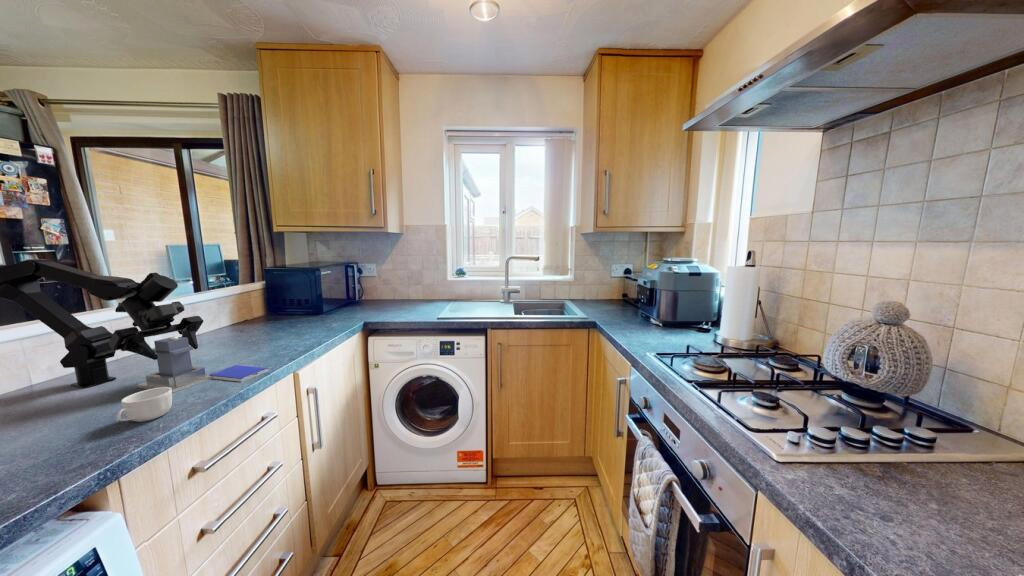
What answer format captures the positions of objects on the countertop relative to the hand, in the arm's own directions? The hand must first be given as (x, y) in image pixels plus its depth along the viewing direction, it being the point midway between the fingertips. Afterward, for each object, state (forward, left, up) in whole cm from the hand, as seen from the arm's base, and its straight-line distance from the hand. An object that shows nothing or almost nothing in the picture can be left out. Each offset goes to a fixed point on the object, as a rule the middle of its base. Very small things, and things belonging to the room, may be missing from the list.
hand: (177, 353), depth 93 cm
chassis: (-2, 0, -9) cm, 9 cm away
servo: (-2, 0, -8) cm, 8 cm away
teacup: (+16, -16, -9) cm, 24 cm away
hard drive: (+9, +9, -9) cm, 16 cm away
